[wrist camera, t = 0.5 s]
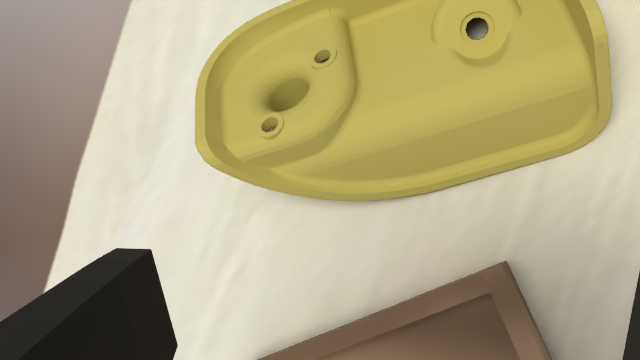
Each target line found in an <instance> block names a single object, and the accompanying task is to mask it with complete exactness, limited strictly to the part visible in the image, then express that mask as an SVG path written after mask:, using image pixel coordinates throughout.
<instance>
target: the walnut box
mask: <svg viewBox="0 0 640 360" xmlns="http://www.w3.org/2000/svg"><path fill="white" fill-rule="evenodd" d="M259 360H552V359H551V357H550V354H549V352H548V350H547V348H546V346H545V344H544V341H543V339H542V337H541V335H540V333H539V331H538V328H537V326H536V324H535V322H534V320H533V318H532V315H531V313H530V311H529V309H528V307H527V305H526V302H525V300H524V298H523V296H522V294H521V292H520V289H519V287H518V285H517V283H516V281H515V279H514V277H513V274H512V272H511V270H510V268H509V266H508V264H507V261H504V262H502V263H499V264H497V265H494V266H492V267H489V268H487V269H484V270H482V271H479V272H477V273H474V274H472V275H469V276H467V277H464V278H462V279H459V280H457V281H454V282H452V283H449V284H447V285H444V286H442V287H439V288H437V289H434V290H432V291H429V292H427V293H424V294H422V295H419V296H417V297H414V298H412V299H409V300H407V301H404V302H402V303H399V304H397V305H394V306H392V307H389V308H387V309H384V310H382V311H379V312H377V313H374V314H372V315H369V316H367V317H364V318H362V319H359V320H357V321H354V322H352V323H349V324H347V325H344V326H342V327H339V328H336V329H334V330H331V331H329V332H326V333H324V334H321V335H319V336H316V337H314V338H311V339H309V340H306V341H304V342H301V343H299V344H296V345H294V346H291V347H289V348H286V349H284V350H281V351H279V352H276V353H274V354H271V355H269V356H266V357H264V358H261V359H259Z"/></svg>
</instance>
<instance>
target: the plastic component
mask: <svg viewBox="0 0 640 360" xmlns="http://www.w3.org/2000/svg"><path fill="white" fill-rule="evenodd" d="M473 18H481V19H484V20H485V22H486V23H487V27H488V31H487V33H486V35H485V36H484V37H483V38H482V39H480V40H473V39H471V38H469V37H468V36H467V33H466V31H465V30H466V26H467V23H468V22H469V21H470V20H471V19H473ZM326 58H329V59H328V60H327V61H326V62H324V63H321V61H322V60H324V59H326ZM320 63H321V64H320ZM611 110H612V95H611V79H610V63H609V47H608V37H607V31H606V27H605V23H604V19H603V16H602V14H601V11H600V8H599V6H598V4H597V3H596V1H595V0H292V1H289V2H287V3H285V4H282V5H280V6H278V7H275V8H273V9H271V10H269V11H267V12H265V13H263V14H261V15H259V16H257V17H255V18H253V19H251V20H250V21H248V22H246V23H245V24H243V25H242V26H240V27H239V28H238V29H236V30H235V31H233V32H232V33H231V34H230V35H229V36H227V37H226V38H225V39H224V40H223V41H222V42H221V43H220V44H219V45H218V47H217V48H216V49H215V50H214V52H213V53H212V54H211V55H210V57H209V59H208V60H207V62H206V63H205V65H204V67H203V69H202V71H201V74H200V77H199V80H198V84H197V89H196V97H195V144H196V148H197V150H198V152H199V153H200V155H201V157H202V158H203V160H204V161H205V162H207V163H208V164H209V165H210V166H212V167H213V168H215V169H217V170H219V171H221V172H223V173H225V174H228V175H230V176H232V177H234V178H237V179H239V180H242V181H245V182H247V183H250V184H253V185H256V186H259V187H263V188H266V189H270V190H274V191H278V192H282V193H287V194H291V195H298V196H304V197H310V198H319V199H329V200H353V201H364V200H379V199H391V198H398V197H406V196H411V195H417V194H422V193H428V192H432V191H436V190H439V189H443V188H446V187H450V186H453V185H457V184H460V183H464V182H468V181H471V180H475V179H478V178H482V177H485V176H489V175H492V174H496V173H500V172H503V171H507V170H510V169H514V168H517V167H521V166H524V165H528V164H532V163H535V162H539V161H542V160H546V159H549V158H553V157H556V156H560V155H564V154H567V153H570V152H572V151H574V150H576V149H578V148H580V147H582V146H584V145H585V144H586V143H588V142H589V141H590V140H592V139H593V138H594V137H595V136H596V135H597V134H598V133H599V132H600V131H601V130H602V129H603V128H604V126H605V124H606V123H607V121H608V119H609V117H610V114H611ZM272 126H273V128H274V130H273V131H271V132H268V130H269V129H270V128H271V127H272Z"/></svg>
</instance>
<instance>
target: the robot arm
mask: <svg viewBox="0 0 640 360" xmlns="http://www.w3.org/2000/svg"><path fill="white" fill-rule="evenodd" d="M177 346H178V345H177V341H176V338H175V334H174V330H173V327H172V323H171V320H170V316H169V312H168V309H167V305H166V301H165V298H164V294H163V291H162V287H161V283H160V280H159V276H158V273H157V269H156V265H155V262H154V258H153V254H152V251H151V249H122V248H116V249H114V250H112V251H111V252H109V253H107V254H105V255H103V256H102V257H100V258H98V259H97V260H95V261H93V262H92V263H90V264H89V265H87V266H85V267H84V268H82V269H81V270H79V271H77V272H76V273H74V274H73V275H71V276H70V277H68V278H67V279H65V280H64V281H62V282H61V283H59V284H58V285H56V286H54V287H53V288H51V289H50V290H48V291H47V292H45V293H44V294H42V295H41V296H39V297H38V298H36V299H35V300H33V301H32V302H30V303H29V304H27V305H25V306H24V307H23V308H21V309H19V310H18V311H16V312H15V313H13V314H12V315H10V316H9V317H7V318H6V319H4V320H3V321H1V322H0V360H173V358H174V355H175V352H176V349H177ZM623 360H640V272H639V277H638V282H637V288H636V293H635V298H634V303H633V308H632V314H631V319H630V324H629V329H628V334H627V339H626V345H625V350H624V355H623Z"/></svg>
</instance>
